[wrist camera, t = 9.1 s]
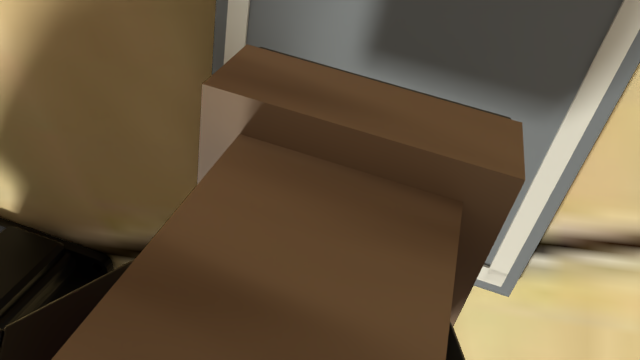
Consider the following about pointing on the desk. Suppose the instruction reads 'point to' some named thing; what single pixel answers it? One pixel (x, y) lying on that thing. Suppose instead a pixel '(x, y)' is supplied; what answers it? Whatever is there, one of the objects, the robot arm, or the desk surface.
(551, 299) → the desk surface
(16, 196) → the desk surface
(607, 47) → the marked board
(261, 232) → the stamp
